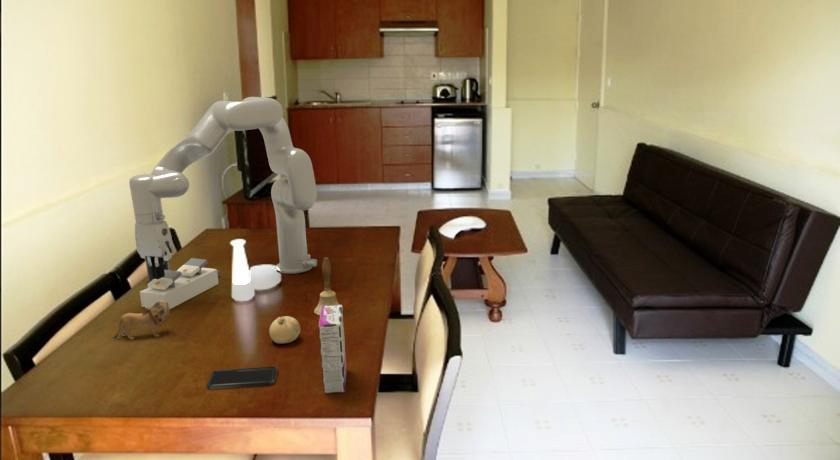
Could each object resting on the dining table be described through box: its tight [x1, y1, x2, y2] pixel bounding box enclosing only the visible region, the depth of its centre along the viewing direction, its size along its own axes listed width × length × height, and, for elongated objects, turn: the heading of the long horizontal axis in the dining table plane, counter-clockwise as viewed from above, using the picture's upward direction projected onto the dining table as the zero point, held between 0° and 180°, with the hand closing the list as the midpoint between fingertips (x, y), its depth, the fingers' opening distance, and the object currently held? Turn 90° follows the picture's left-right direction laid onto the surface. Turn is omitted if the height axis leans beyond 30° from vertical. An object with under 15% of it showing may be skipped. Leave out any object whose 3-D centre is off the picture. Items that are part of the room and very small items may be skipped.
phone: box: [206, 366, 279, 390], centre depth 150 cm, size 8×1×15 cm
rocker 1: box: [147, 269, 182, 290], centre depth 195 cm, size 6×8×2 cm
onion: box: [268, 315, 301, 345], centre depth 168 cm, size 8×8×7 cm
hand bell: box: [313, 256, 344, 317], centre depth 186 cm, size 8×8×16 cm
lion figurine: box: [113, 300, 171, 341], centre depth 173 cm, size 15×5×9 cm, turn 112°
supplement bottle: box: [144, 258, 170, 283], centre depth 214 cm, size 7×7×12 cm
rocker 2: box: [176, 257, 209, 276], centre depth 206 cm, size 6×8×2 cm
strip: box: [139, 267, 221, 310], centre depth 205 cm, size 9×30×6 cm, turn 159°
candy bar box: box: [318, 304, 348, 394], centre depth 145 cm, size 11×5×16 cm, turn 5°
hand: (159, 277), depth 193 cm, fingers closed
